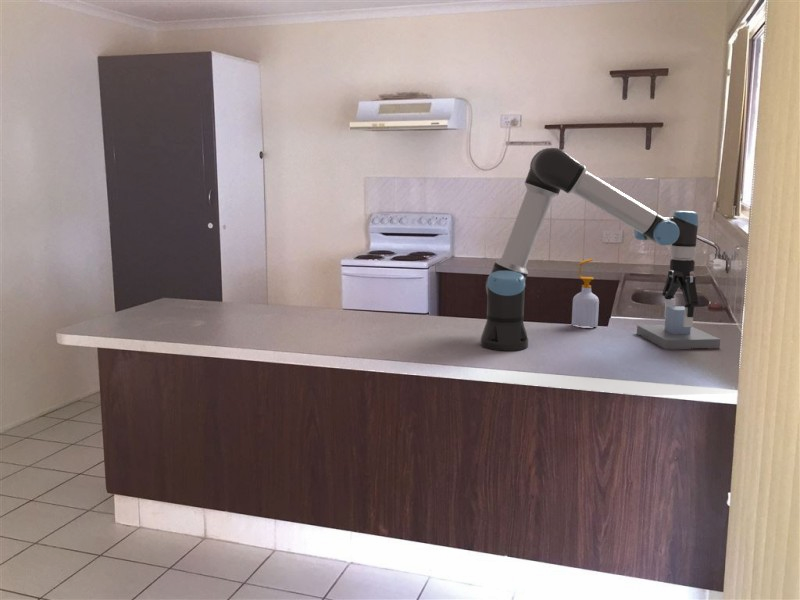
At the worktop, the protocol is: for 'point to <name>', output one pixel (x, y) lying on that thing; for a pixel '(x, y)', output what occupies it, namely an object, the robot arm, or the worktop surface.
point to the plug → (675, 320)
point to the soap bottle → (585, 304)
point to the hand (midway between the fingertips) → (677, 322)
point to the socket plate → (678, 338)
